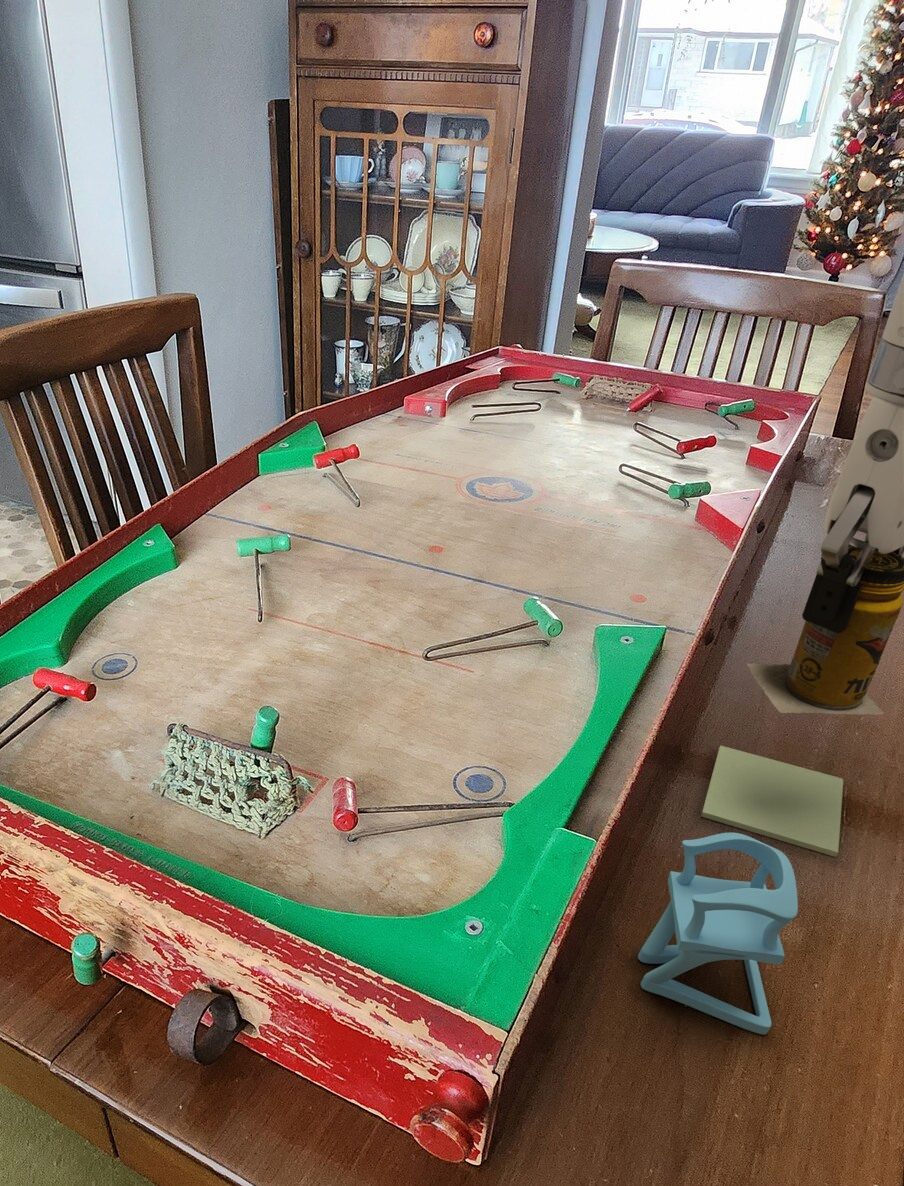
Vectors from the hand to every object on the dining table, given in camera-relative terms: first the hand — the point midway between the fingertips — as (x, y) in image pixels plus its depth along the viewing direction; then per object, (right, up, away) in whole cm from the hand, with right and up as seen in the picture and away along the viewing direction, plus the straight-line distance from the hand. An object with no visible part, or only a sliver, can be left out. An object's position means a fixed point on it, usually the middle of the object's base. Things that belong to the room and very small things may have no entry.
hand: (843, 610), depth 71 cm
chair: (-14, -27, -6) cm, 31 cm away
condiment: (-1, -6, +4) cm, 7 cm away
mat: (-1, -16, +10) cm, 19 cm away
